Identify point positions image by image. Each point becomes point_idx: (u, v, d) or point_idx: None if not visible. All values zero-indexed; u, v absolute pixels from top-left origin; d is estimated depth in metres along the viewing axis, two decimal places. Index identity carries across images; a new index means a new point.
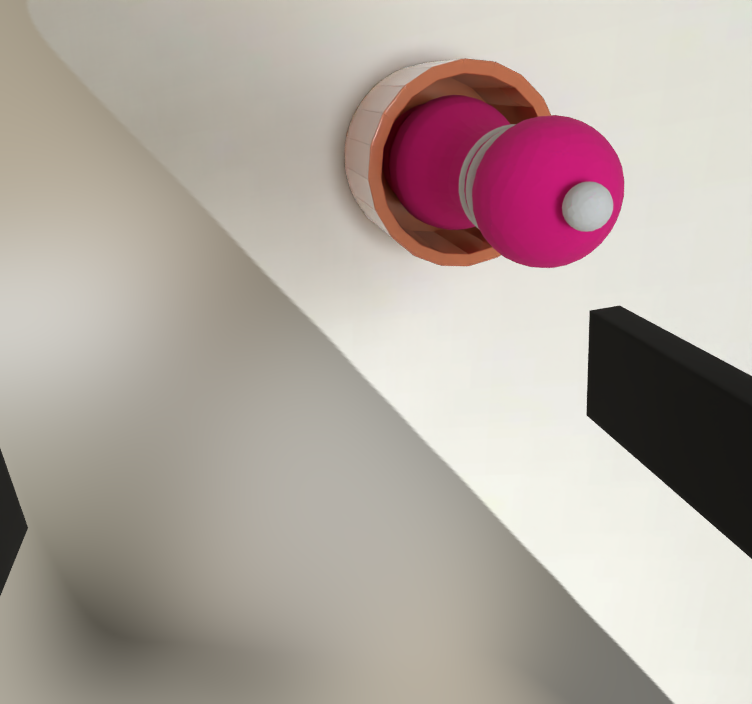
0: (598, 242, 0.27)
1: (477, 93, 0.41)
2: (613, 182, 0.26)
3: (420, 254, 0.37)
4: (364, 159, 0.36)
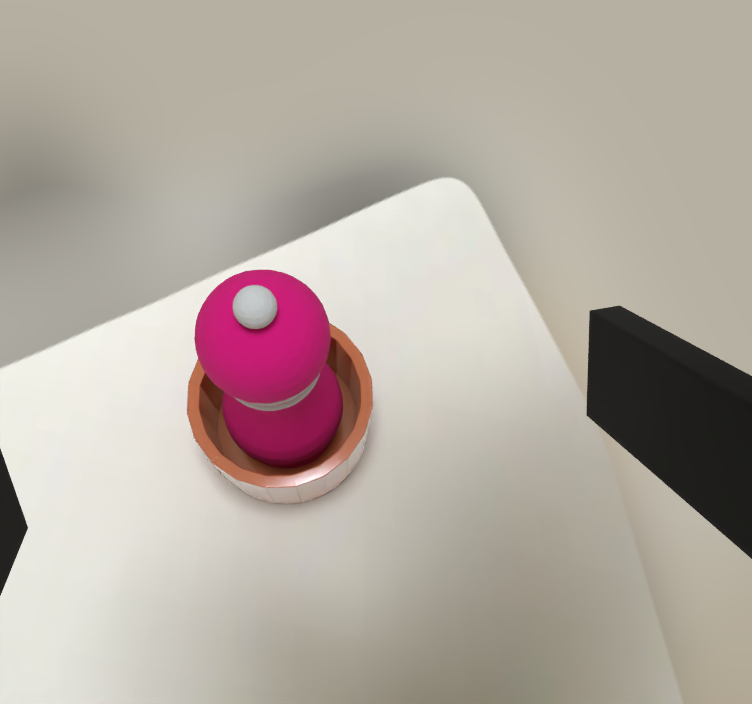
0: (210, 345, 0.28)
1: None
2: (264, 355, 0.28)
3: None
4: None
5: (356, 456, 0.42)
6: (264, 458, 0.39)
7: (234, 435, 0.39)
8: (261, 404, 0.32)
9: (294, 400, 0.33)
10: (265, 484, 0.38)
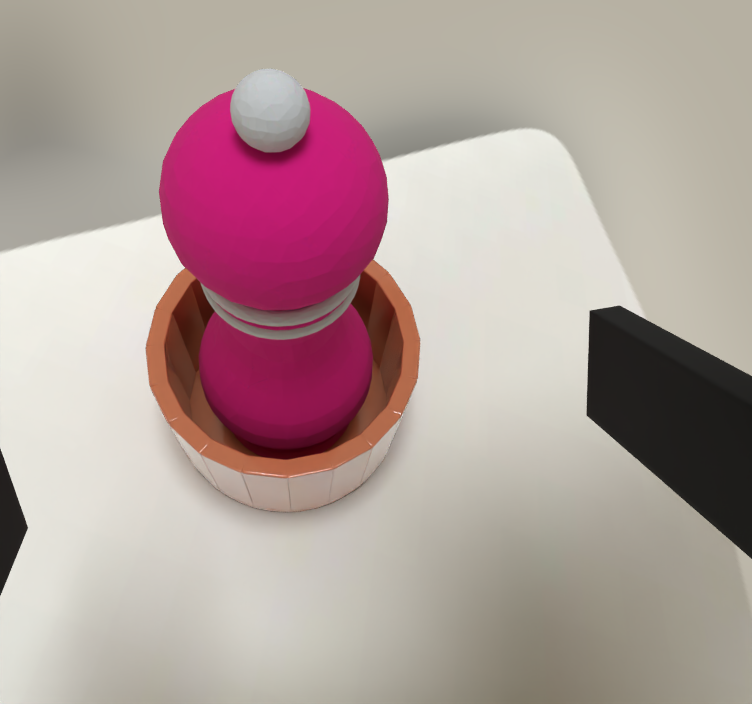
0: (182, 178, 0.16)
1: None
2: (274, 203, 0.16)
3: None
4: None
5: (380, 454, 0.29)
6: (248, 433, 0.27)
7: (210, 392, 0.27)
8: (255, 321, 0.19)
9: (309, 327, 0.20)
10: (243, 468, 0.25)
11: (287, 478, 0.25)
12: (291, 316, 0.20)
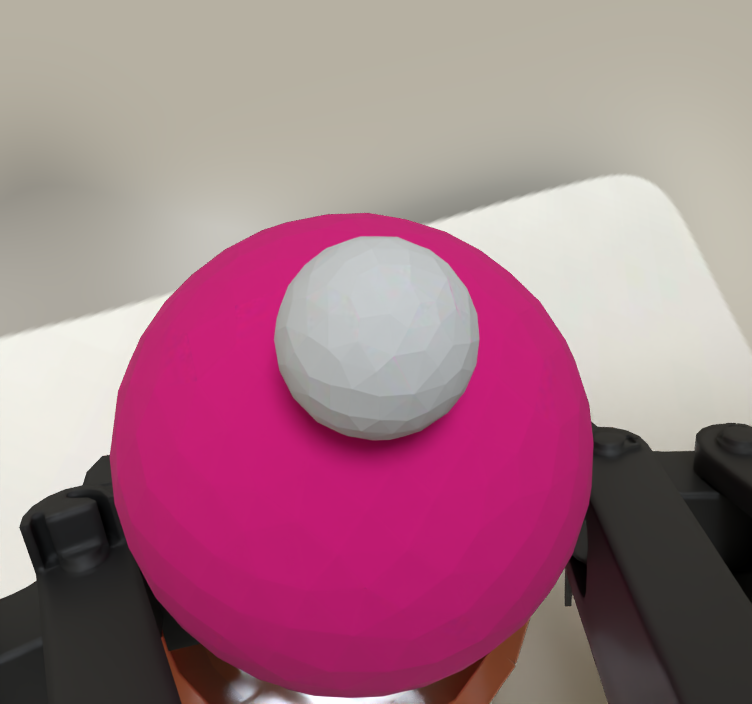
0: (156, 470, 0.07)
1: (402, 695, 0.22)
2: (381, 556, 0.06)
3: None
4: None
5: None
6: None
7: None
8: None
9: None
10: None
11: None
12: None
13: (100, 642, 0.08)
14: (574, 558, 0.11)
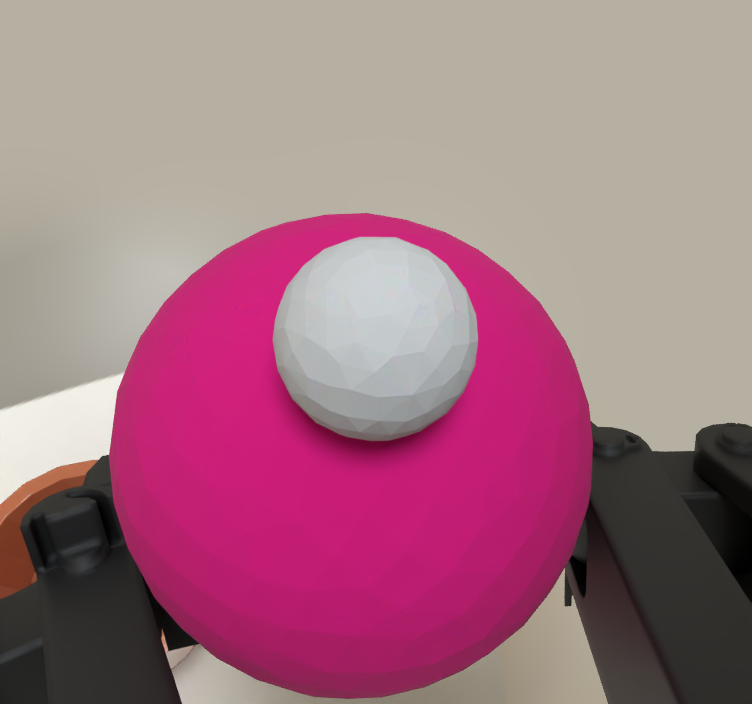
0: (155, 471, 0.07)
1: None
2: (381, 557, 0.06)
3: (20, 490, 0.33)
4: None
5: (179, 653, 0.34)
6: None
7: None
8: None
9: None
10: None
11: None
12: None
13: (100, 642, 0.08)
14: (574, 558, 0.11)
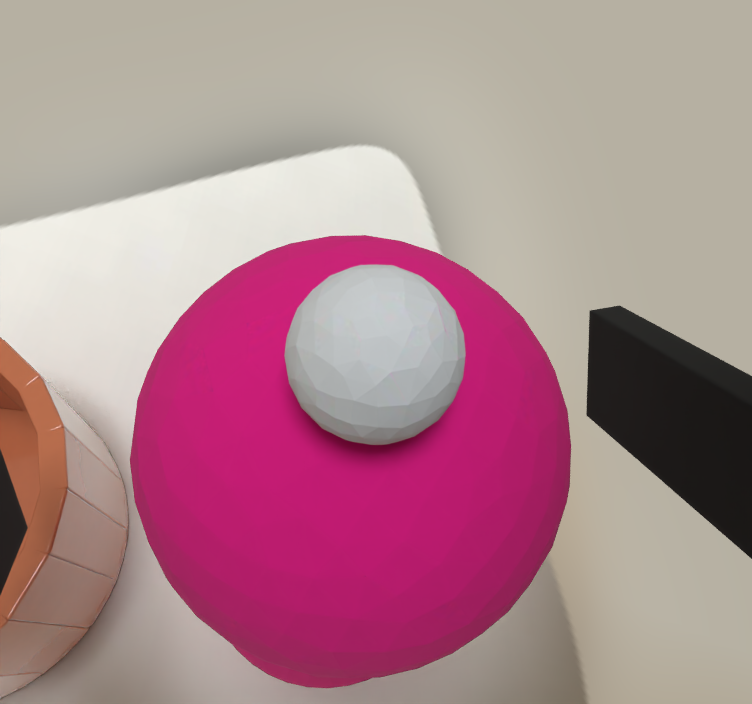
0: (176, 472, 0.07)
1: None
2: (379, 548, 0.07)
3: None
4: None
5: (38, 646, 0.19)
6: (276, 676, 0.18)
7: None
8: None
9: None
10: None
11: None
12: None
13: None
14: None
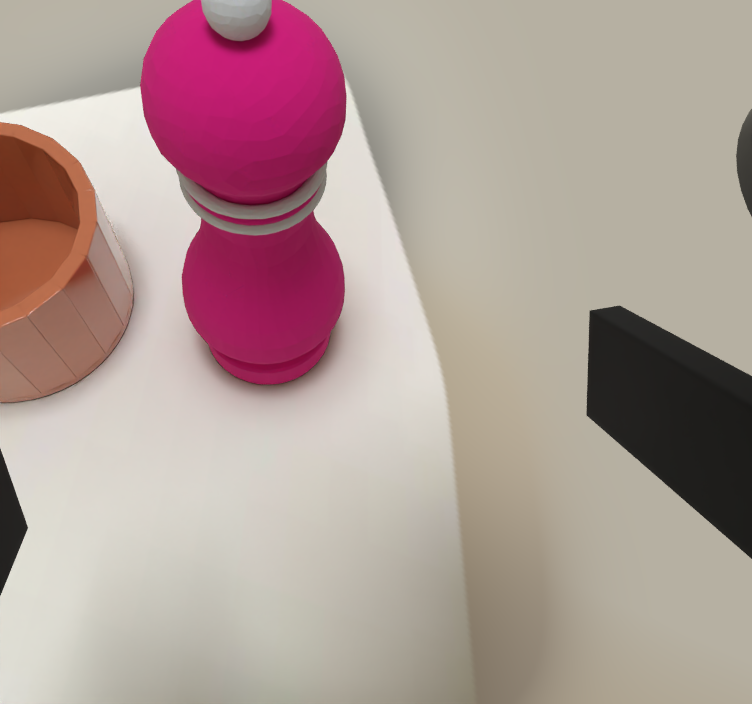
0: (160, 66, 0.18)
1: None
2: (240, 85, 0.18)
3: None
4: None
5: (76, 339, 0.30)
6: (227, 345, 0.29)
7: (192, 307, 0.29)
8: (229, 213, 0.22)
9: (278, 223, 0.23)
10: None
11: None
12: (261, 209, 0.22)
13: None
14: None
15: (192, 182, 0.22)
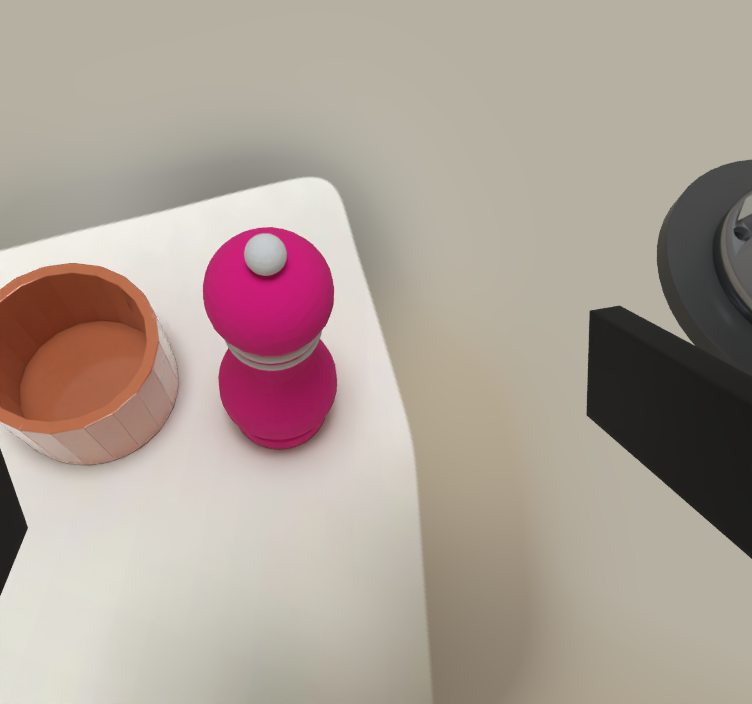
0: (217, 287, 0.29)
1: None
2: (267, 302, 0.29)
3: (12, 283, 0.40)
4: None
5: (141, 421, 0.41)
6: (252, 428, 0.40)
7: (227, 401, 0.40)
8: (257, 360, 0.33)
9: (289, 363, 0.34)
10: (21, 427, 0.37)
11: (51, 434, 0.37)
12: (278, 357, 0.33)
13: None
14: None
15: None
